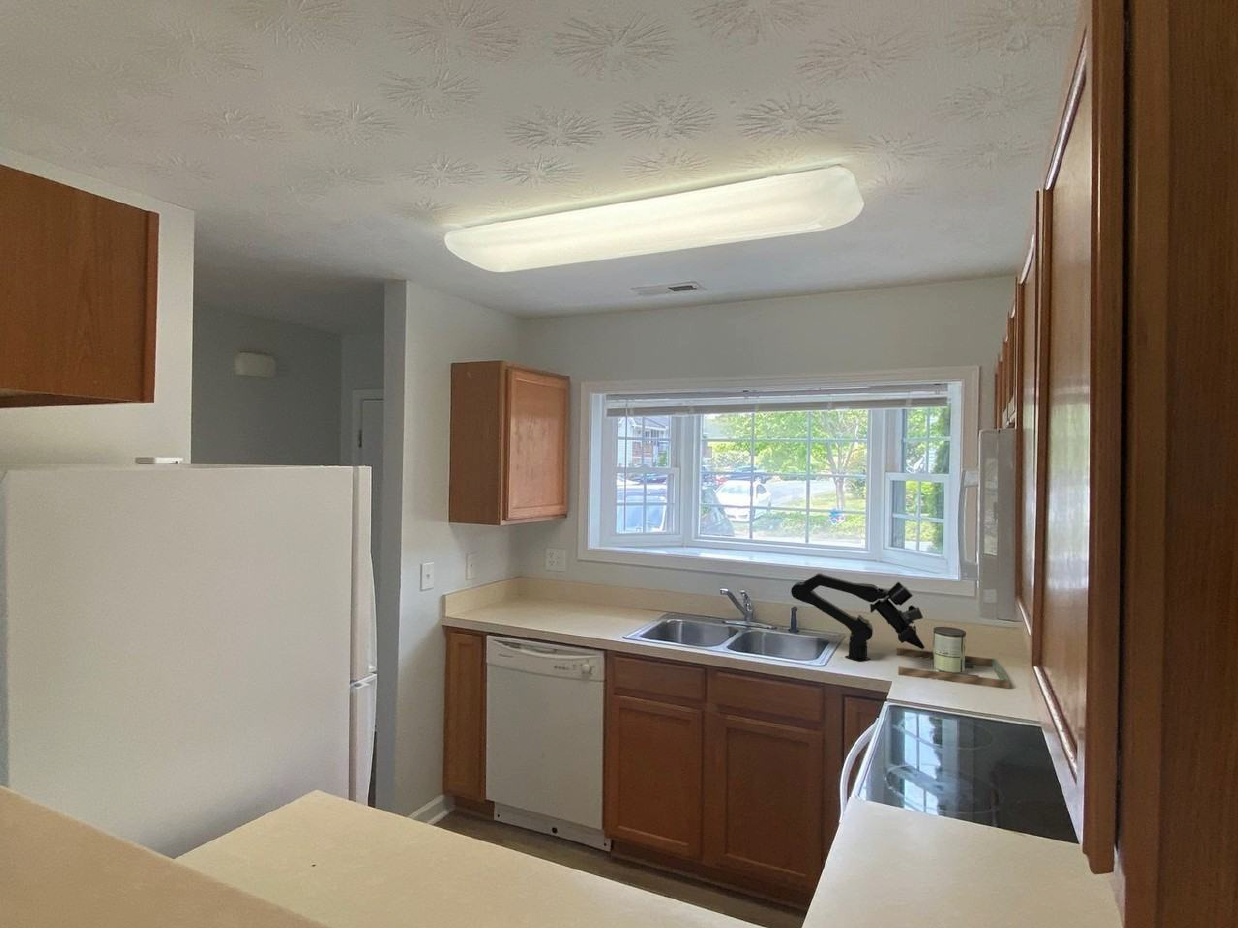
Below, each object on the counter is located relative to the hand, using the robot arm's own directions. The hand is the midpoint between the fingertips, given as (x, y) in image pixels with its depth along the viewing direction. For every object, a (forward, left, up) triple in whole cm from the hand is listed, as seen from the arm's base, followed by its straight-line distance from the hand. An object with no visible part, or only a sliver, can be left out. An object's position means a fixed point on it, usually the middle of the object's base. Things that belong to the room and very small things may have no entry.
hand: (923, 648), depth 241 cm
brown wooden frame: (+4, -7, -7) cm, 10 cm away
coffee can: (+5, -7, -7) cm, 11 cm away
